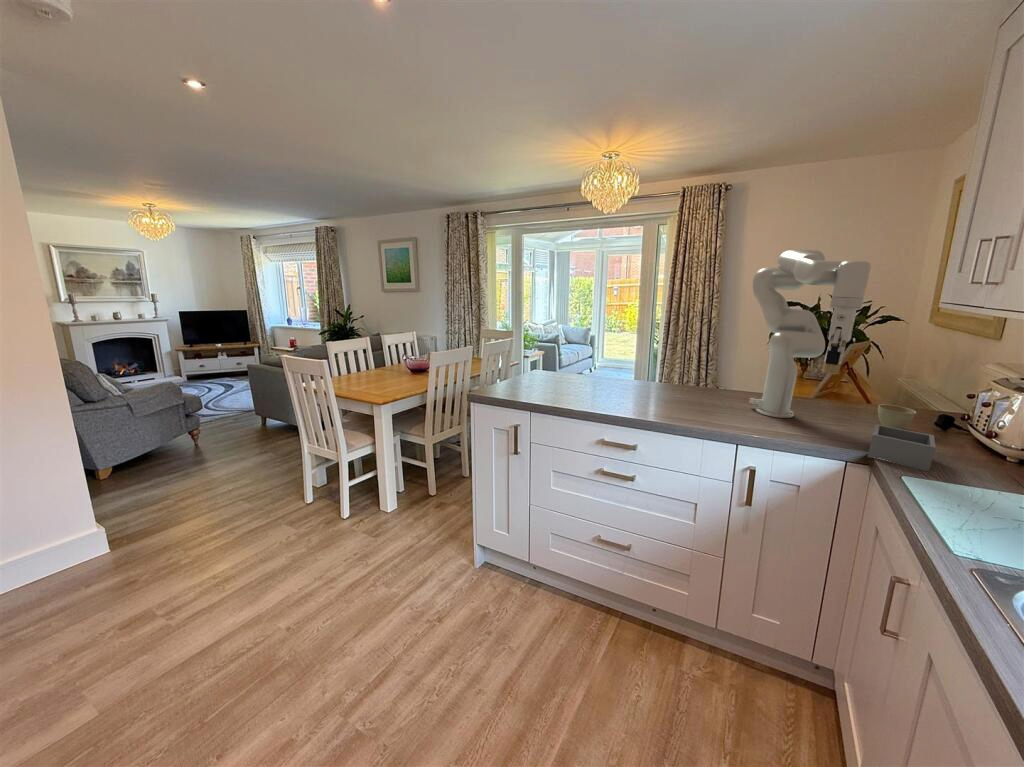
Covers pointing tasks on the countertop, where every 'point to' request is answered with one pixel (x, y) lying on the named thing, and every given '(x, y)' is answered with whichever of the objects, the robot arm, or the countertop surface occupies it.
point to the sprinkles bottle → (830, 367)
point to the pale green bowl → (895, 416)
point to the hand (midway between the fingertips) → (832, 362)
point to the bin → (902, 447)
